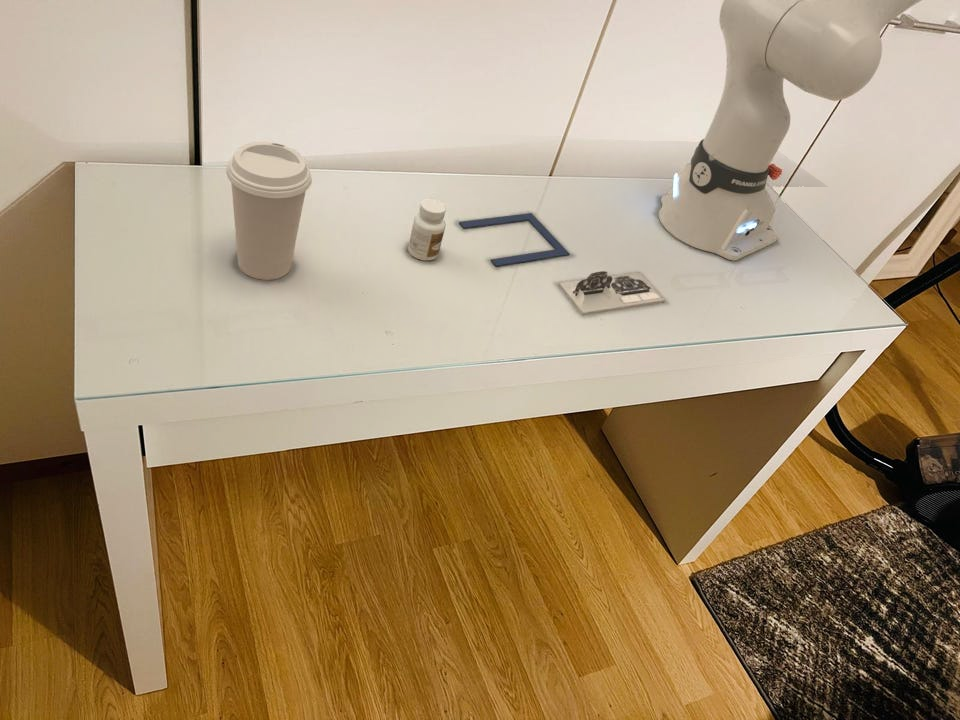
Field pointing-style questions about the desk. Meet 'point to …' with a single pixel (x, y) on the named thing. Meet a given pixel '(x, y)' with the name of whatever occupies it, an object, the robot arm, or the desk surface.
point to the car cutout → (610, 292)
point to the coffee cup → (267, 206)
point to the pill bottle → (427, 230)
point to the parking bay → (522, 258)
